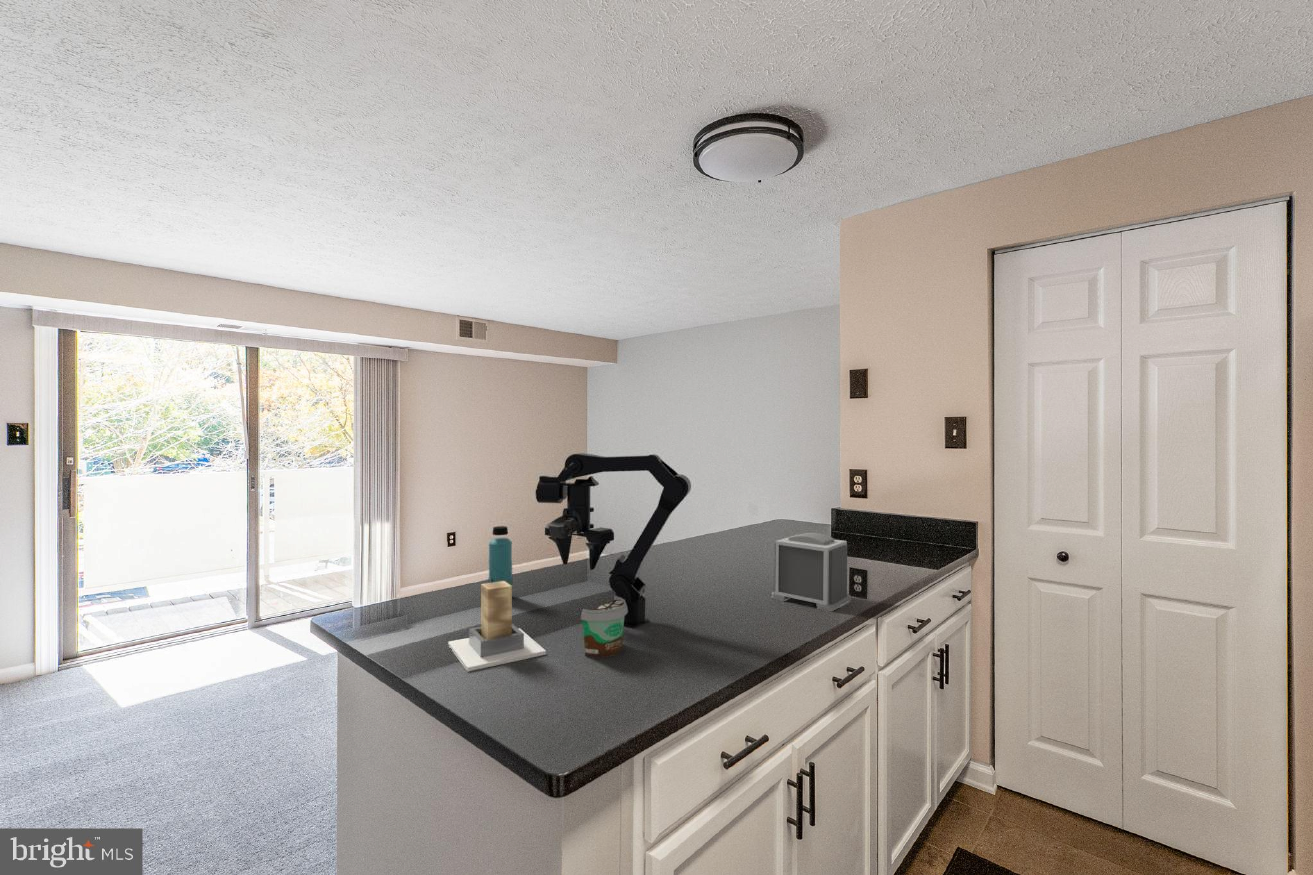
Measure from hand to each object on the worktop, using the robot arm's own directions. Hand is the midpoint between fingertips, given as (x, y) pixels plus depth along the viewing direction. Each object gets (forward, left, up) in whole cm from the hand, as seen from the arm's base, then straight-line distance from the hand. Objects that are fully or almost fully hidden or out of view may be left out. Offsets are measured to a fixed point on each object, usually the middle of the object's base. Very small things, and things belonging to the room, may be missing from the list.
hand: (578, 566), depth 141 cm
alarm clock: (-40, -51, -13) cm, 66 cm away
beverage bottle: (+30, 0, -13) cm, 33 cm away
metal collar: (0, +25, -13) cm, 28 cm away
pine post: (0, +25, -12) cm, 28 cm away
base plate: (0, +25, -13) cm, 28 cm away
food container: (-20, +11, -13) cm, 26 cm away
